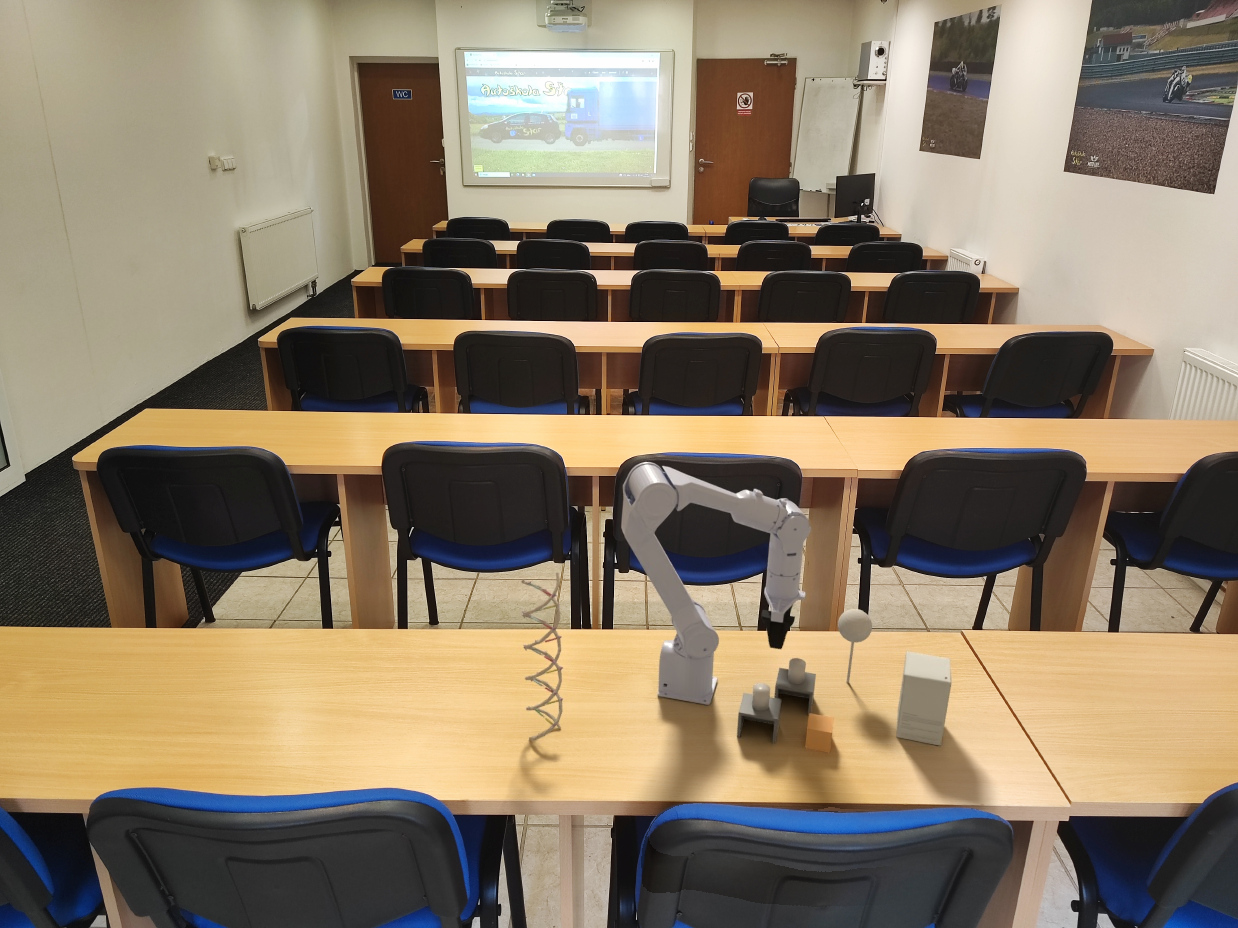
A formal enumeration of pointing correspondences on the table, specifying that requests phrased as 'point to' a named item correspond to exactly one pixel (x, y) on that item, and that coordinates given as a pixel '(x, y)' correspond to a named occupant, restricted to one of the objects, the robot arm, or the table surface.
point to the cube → (819, 732)
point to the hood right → (796, 681)
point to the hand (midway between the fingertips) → (778, 635)
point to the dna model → (546, 656)
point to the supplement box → (924, 698)
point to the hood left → (760, 708)
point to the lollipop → (854, 629)
